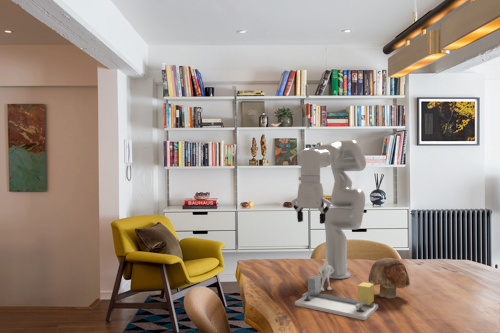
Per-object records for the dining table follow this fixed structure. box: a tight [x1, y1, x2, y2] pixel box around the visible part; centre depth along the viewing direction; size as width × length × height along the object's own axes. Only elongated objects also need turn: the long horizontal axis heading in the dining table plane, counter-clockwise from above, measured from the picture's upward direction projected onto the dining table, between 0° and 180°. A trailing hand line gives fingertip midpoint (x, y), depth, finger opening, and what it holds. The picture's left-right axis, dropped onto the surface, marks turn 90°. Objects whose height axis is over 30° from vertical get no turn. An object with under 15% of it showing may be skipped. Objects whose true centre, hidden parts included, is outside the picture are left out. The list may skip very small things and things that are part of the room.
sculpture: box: [367, 257, 411, 299], centre depth 150 cm, size 15×16×15 cm
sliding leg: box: [356, 281, 375, 311], centre depth 134 cm, size 12×4×7 cm, turn 145°
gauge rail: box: [301, 274, 375, 308], centre depth 140 cm, size 12×25×7 cm, turn 55°
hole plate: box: [294, 296, 379, 321], centre depth 140 cm, size 14×26×1 cm, turn 55°
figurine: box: [317, 260, 334, 292], centre depth 160 cm, size 7×4×12 cm, turn 108°
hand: (311, 222), depth 156 cm, fingers open, 9 cm apart
